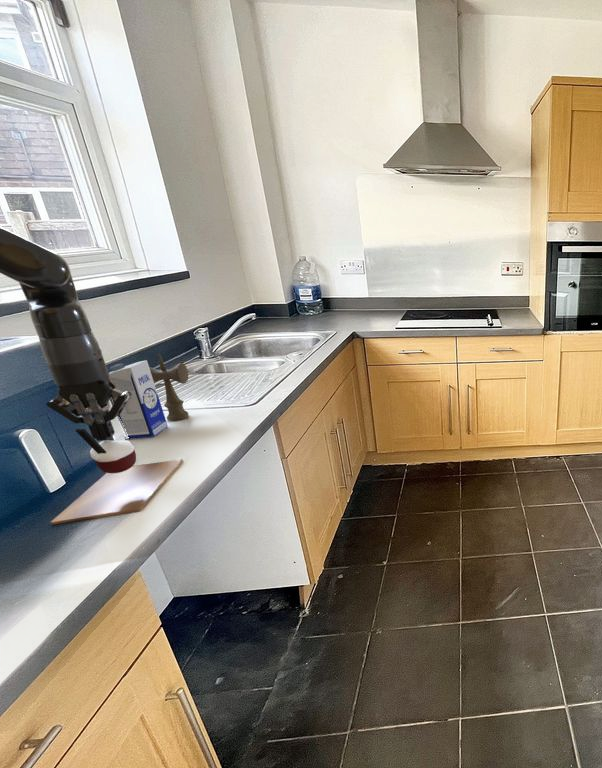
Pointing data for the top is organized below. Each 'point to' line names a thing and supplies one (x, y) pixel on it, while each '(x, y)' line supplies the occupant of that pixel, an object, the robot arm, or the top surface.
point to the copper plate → (119, 492)
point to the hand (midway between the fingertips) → (105, 438)
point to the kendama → (171, 387)
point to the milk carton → (139, 400)
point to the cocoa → (110, 453)
